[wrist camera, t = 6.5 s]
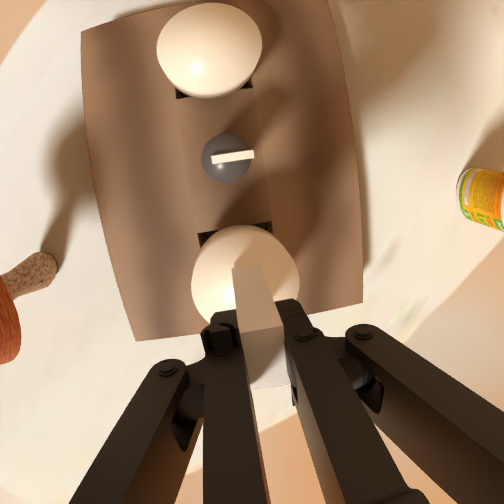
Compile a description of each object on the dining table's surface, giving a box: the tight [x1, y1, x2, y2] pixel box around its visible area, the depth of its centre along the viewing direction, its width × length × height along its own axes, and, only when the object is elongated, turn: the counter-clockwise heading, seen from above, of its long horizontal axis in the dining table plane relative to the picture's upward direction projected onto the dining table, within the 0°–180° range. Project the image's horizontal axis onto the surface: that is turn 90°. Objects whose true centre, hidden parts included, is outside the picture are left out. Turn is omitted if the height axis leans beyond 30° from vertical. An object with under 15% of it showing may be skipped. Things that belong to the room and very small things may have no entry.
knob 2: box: [191, 225, 299, 323], centre depth 20 cm, size 6×6×6 cm
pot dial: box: [201, 134, 254, 183], centre depth 17 cm, size 2×2×5 cm
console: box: [81, 0, 363, 341], centre depth 21 cm, size 18×24×3 cm
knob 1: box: [157, 3, 262, 99], centre depth 17 cm, size 6×6×6 cm
